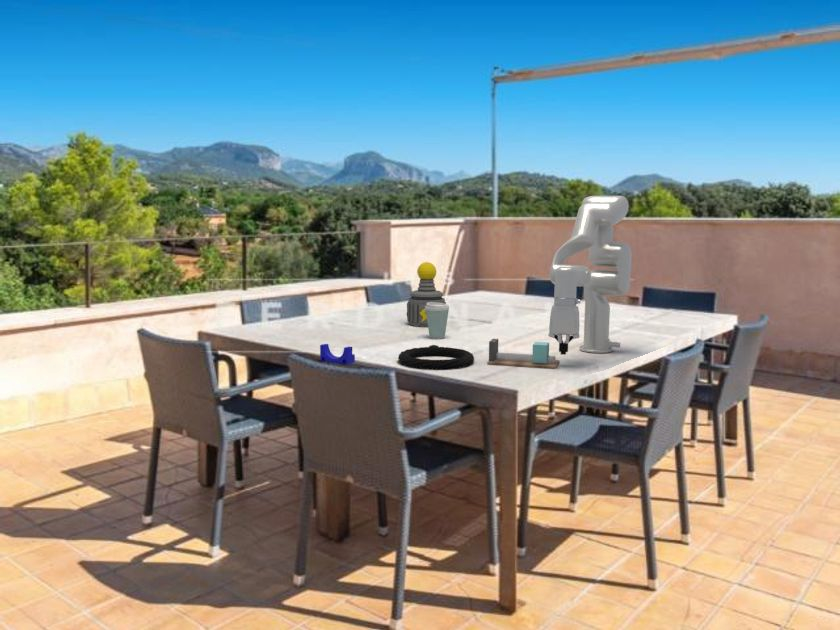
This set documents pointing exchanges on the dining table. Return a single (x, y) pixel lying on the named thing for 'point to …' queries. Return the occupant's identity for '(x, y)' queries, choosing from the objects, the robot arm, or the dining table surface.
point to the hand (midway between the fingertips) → (563, 353)
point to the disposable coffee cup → (437, 319)
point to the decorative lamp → (423, 296)
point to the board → (524, 364)
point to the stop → (493, 349)
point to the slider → (540, 352)
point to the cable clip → (329, 357)
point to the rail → (521, 357)
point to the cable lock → (461, 360)
